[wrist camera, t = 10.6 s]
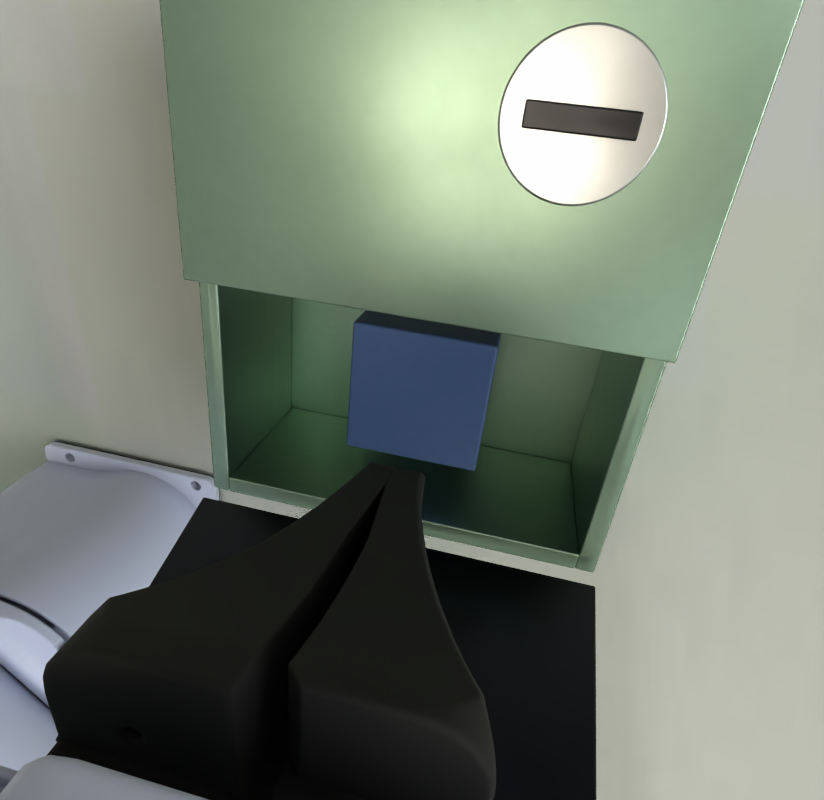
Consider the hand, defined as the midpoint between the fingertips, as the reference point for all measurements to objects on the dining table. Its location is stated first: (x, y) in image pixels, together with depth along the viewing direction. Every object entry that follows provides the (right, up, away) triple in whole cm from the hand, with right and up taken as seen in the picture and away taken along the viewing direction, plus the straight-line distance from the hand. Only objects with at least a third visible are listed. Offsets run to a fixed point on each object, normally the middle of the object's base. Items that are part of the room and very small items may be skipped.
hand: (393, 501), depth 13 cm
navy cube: (+1, +4, +8) cm, 9 cm away
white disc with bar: (+1, +9, -1) cm, 9 cm away
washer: (+2, +7, +7) cm, 11 cm away
